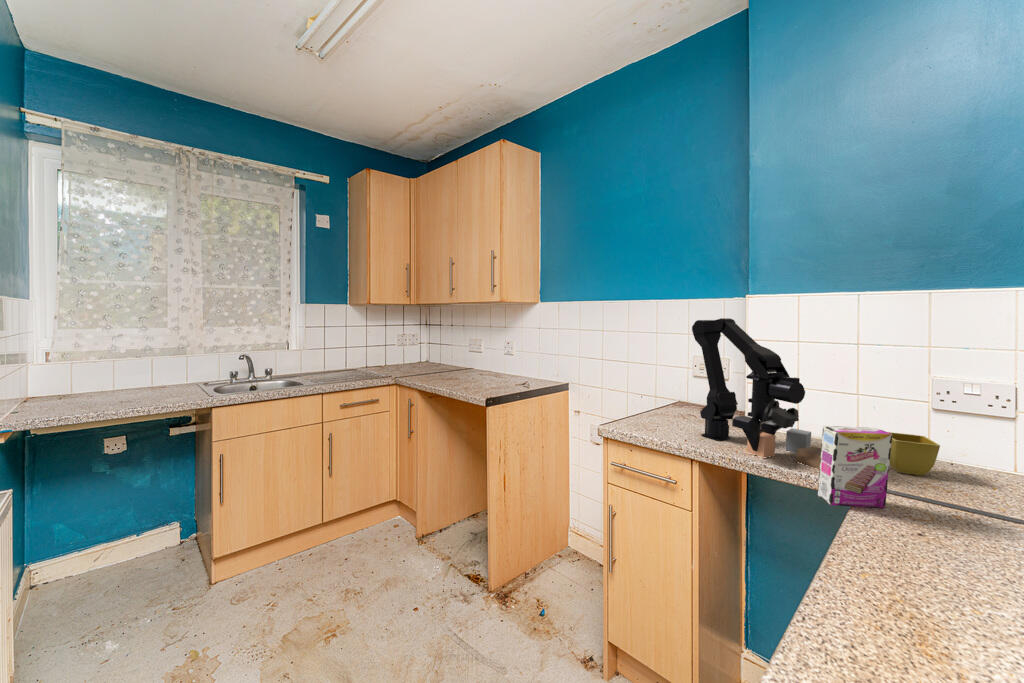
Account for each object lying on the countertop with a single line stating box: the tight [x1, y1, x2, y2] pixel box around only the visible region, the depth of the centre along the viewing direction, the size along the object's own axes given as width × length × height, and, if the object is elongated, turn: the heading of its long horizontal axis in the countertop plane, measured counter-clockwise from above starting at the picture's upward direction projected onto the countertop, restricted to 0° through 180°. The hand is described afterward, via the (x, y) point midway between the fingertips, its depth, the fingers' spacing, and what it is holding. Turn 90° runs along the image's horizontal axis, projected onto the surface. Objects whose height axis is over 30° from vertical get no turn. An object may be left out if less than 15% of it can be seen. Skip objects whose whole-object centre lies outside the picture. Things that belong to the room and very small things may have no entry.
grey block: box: [785, 427, 812, 454], centre depth 124 cm, size 5×5×6 cm
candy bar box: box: [817, 425, 892, 509], centre depth 91 cm, size 11×5×16 cm, turn 84°
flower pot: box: [887, 431, 941, 477], centre depth 109 cm, size 9×9×9 cm
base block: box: [795, 445, 821, 471], centre depth 113 cm, size 7×7×4 cm
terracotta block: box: [746, 432, 776, 459], centre depth 121 cm, size 5×5×6 cm
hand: (760, 449), depth 121 cm, fingers closed on terracotta block, 5 cm apart
